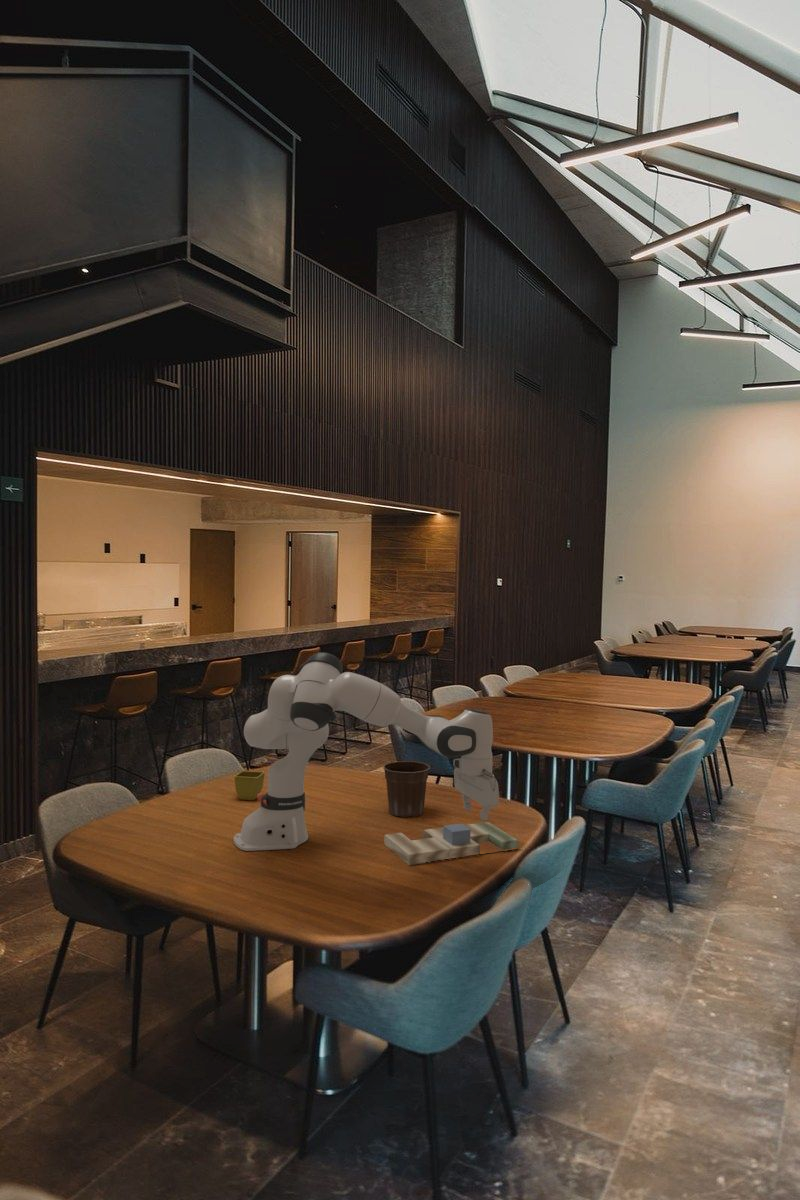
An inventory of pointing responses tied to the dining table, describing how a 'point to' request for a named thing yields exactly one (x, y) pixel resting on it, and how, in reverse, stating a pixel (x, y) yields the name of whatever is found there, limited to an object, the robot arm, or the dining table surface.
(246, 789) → the flower pot
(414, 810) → the plant pot
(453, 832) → the slate block
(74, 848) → the dining table surface
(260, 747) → the robot arm
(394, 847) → the wooden cutout board
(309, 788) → the dining table surface
